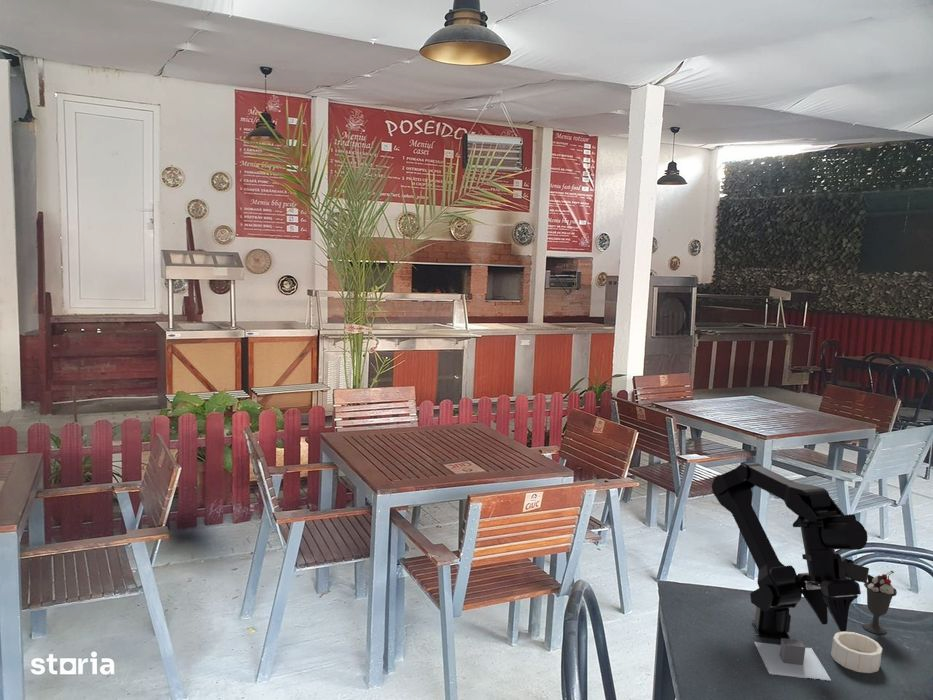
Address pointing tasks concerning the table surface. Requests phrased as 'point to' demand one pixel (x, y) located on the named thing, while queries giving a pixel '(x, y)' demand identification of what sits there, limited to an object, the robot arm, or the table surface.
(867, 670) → the bowl
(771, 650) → the lid
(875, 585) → the sundae
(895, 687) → the table surface
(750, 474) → the robot arm
